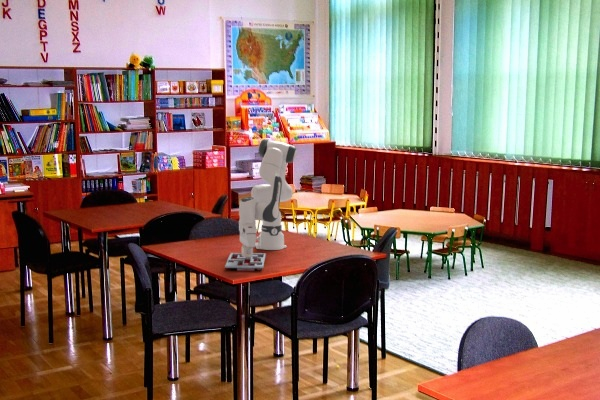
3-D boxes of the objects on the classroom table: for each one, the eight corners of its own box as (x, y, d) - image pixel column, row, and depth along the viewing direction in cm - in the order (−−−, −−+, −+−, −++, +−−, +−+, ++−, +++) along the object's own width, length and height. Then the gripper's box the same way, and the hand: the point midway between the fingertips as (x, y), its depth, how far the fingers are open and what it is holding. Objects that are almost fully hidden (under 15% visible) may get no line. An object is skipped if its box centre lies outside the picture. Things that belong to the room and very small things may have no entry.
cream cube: (241, 255, 388) (241, 246, 388) (250, 255, 390) (250, 245, 389) (243, 257, 384) (243, 248, 383) (252, 256, 385) (252, 247, 385)
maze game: (230, 258, 405) (230, 252, 405) (265, 258, 406) (265, 253, 405) (224, 272, 371) (224, 266, 370) (263, 272, 371) (263, 266, 370)
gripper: (236, 224, 394) (236, 249, 395) (246, 230, 374) (246, 257, 376) (248, 224, 396) (248, 249, 397) (257, 230, 377) (257, 256, 378)
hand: (247, 253), depth 387 cm, fingers closed on cream cube, 5 cm apart
